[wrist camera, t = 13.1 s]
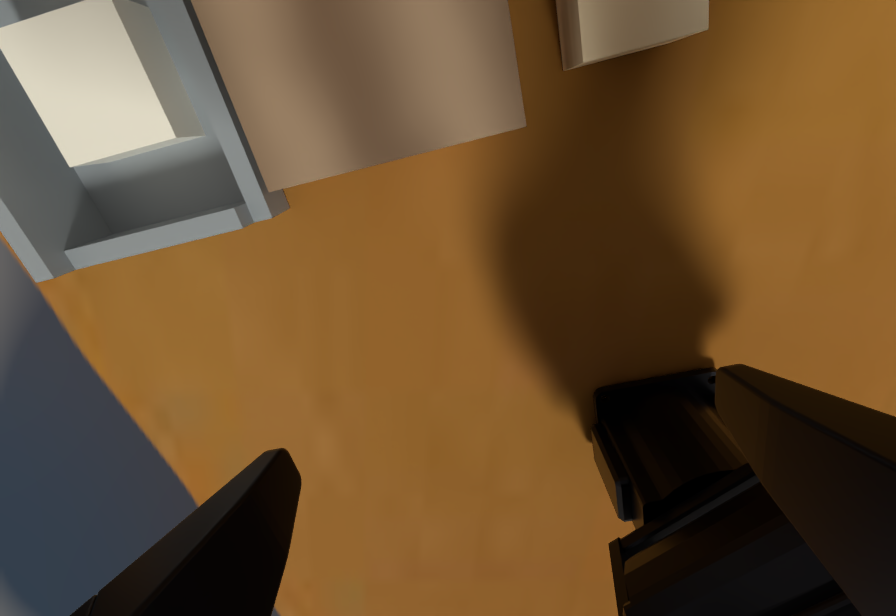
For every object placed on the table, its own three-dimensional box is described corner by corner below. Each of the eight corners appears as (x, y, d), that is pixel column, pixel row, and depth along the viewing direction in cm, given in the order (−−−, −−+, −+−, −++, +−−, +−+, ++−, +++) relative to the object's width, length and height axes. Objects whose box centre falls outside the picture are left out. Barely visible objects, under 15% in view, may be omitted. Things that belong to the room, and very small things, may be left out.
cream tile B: (149, 7, 15) (108, -8, 14) (205, 135, 17) (176, 137, 15) (43, 40, 16) (-10, 31, 14) (109, 162, 18) (69, 167, 16)
